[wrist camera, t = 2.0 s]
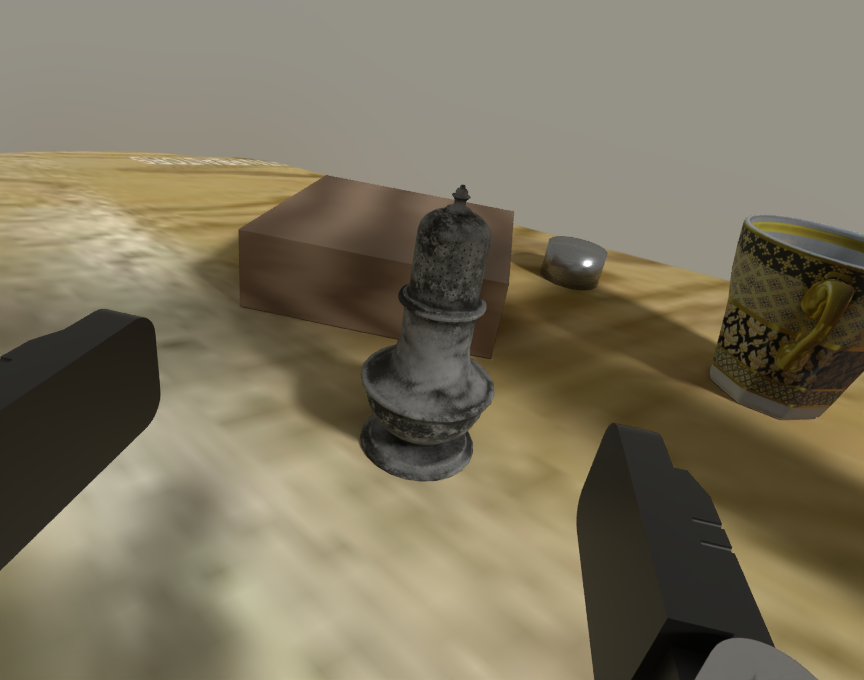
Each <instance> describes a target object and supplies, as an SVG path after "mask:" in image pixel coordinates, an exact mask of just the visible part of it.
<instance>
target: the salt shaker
mask: <svg viewBox="0 0 864 680" xmlns="http://www.w3.org/2000/svg"><path fill="white" fill-rule="evenodd" d="M452 195H453V197H454V199H455V201H454V203H453V204H449V205H447V206H446V207H445V208H438V209H435V210H433V211H431V212H429V213H427V214H426V215H425V216H424V217H423V218H422V219H421V220H420V223H419V226H418V229H417V235H416V242H415V249H414V256H413V263H412V270H411V277H410V283H409V284H406V285H404V286H403V287H402V288H401V289H400V290H399V294H398V298H399V301H400V303H401V304H402V305H403V306H404V312H403V319H402V326H401V333H400V337H399V340H398V342H397V344H396V345H392V346H389V347H386V348H383V349H381V350H379V351H377V352H375V353H374V354H372V355H371V356H370V357H369V358H368V359H367V360H366V361H365V363H364V364H363V368H362V371H361V378H362V383H363V386H364V388H365V389H366V392H367V397H368V401H369V404H370V407H371V409H372V412H373V415H372V416H371V417H369V418H368V420H367V421H366V423H365V424H364V425H363V428H362V433H361V442H362V448H363V449H364V451H365V453H366V455H367V456H368V458H369V459H370V460H371V461H372V462H373V463H374V464H376V465H377V466H378V467H379V468H381V469H383V470H384V471H386V472H388V473H390V474H392V475H395V476H398V477H401V478H404V479H408V480H415V481H437V480H441V479H445V478H449V477H452V476H453V475H455V474H457V473H459V472H460V471H462V470H463V469H464V468H465V467H466V465H467V464H468V463H469V461H470V459H471V456H472V453H473V442H472V439H471V437H470V435H469V432H468V430H469V429H470V428H471V427H472V426H473V424H474V423H475V422H476V421H477V420H478V419H479V417H480V415H481V413H482V412H483V411H484V410H485V409H486V408H487V407H488V406H489V405H490V404H491V402H492V399H493V396H494V393H495V392H494V383H493V381H492V379H491V378H490V376H489V374H488V372H487V371H486V370H485V369H484V368H483V367H482V366H481V365H480V364H479V363H477V362H476V361H474V360H473V359H471V358H470V346H471V341H472V337H473V332H474V327H475V323H476V319H478V318H479V317H481V316H482V315H484V313H485V311H486V302H485V301H484V299H483V298H482V297H481V296H480V291H481V286H482V281H483V277H484V272H485V267H486V263H487V258H488V254H489V249H490V244H491V231H490V228H489V226H488V224H487V223H486V222H485V221H484V220H483V219H482V218H481V217H480V216H479V215H478V214H476V213H473V212H472V211H471V209H470V208H469V207H466V201H467V200H468V199H469V198H471V197H470V196H469V195H468V191H467V189H465V185H461V186H460V188H458V189H457V190H456V193H453V194H452Z"/></svg>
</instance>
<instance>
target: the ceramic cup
mask: <svg viewBox="0 0 864 680" xmlns="http://www.w3.org/2000/svg"><path fill="white" fill-rule="evenodd" d="M863 372H864V234H860V233H857V232H853V231H849V230H846V229H842V228H839V227H835V226H830V225H826V224H822V223H817V222H813V221H808V220H802V219H797V218H791V217H784V216H776V215H753V216H749V217H747V218H746V219H745V220H744V223H743V227H742V231H741V234H740V238H739V241H738V245H737V249H736V253H735V257H734V262H733V266H732V272H731V280H730V289H729V297H728V302H727V306H726V311H725V315H724V319H723V323H722V327H721V331H720V335H719V339H718V342H717V347H716V350H715V353H714V357H713V361H712V366H711V369H710V376H711V380H712V381H713V382H714V383H715V384H717V385H718V386H719V387H720V388H721V389H722V390H723V391H725V392H726V393H727V394H728V395H729V396H730V397H731V398H733V399H734V400H735V401H736V402H737V403H739V404H741V405H744V406H746V407H749V408H751V409H754V410H757V411H759V412H762V413H764V414H767V415H769V416H772V417H774V418H777V419H780V420H799V419H815V418H816V417H819V416H821V415H822V414H823V413H824V412H825V411H826V410H827V409H828V408H829V407H830V406H831V405H832V404H833V403H834V402H835V401H836V400H837V399H838V398H839V396H840V395H841V394H842V393H843V392H844V391H845V390H846V389H847V388H848V387H849V386H850V385H851V384H852V383H853V382H854V381H855V380H856V379H857V378H858V377H859V376H860V375H861V374H862V373H863Z"/></svg>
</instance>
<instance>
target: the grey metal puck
mask: <svg viewBox="0 0 864 680" xmlns="http://www.w3.org/2000/svg"><path fill="white" fill-rule="evenodd" d="M606 257H607V251H606V250H605V249H604V248H602V247H601V246H599V245H597V244H594V243H592V242H589V241H586V240H582V239H578V238H573V237H565V236H557V237H552V238H550V239H549V242H548V246H547V250H546V253H545V257H544V261H543V264H542V268H541V275H542V276H543V277H544V278H545V279H547V280H548V281H550V282H552V283H554V284H556V285H559V286H562V287H566V288H570V289H575V290H591V289H594V288H596V287H597V285H598V282H599V278H600V275H601V272H602V269H603V266H604V263H605V260H606Z"/></svg>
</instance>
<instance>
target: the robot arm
mask: <svg viewBox="0 0 864 680" xmlns="http://www.w3.org/2000/svg"><path fill="white" fill-rule="evenodd" d="M159 402H160V381H159V370H158V358H157V347H156V336H155V329H154V326H153V324H152V322H151V321H150V320H149V319H147V318H144V317H139V316H135V315H130V314H126V313H121V312H117V311H112V310H108V309H100V310H97V311H95V312H93V313H91V314H90V315H88V316H86V317H85V318H83V319H81V320H79V321H78V322H76V323H74V324H73V325H71V326H69V327H68V328H66V329H64V330H61V331H58V332H55V333H52V334H48V335H45V336H42V337H39V338H36V339H33V340H29V341H28V342H26V343H24V344H22V345H21V346H19V347H17V348H15V349H13V350H12V351H10V352H8V353H6V354H5V355H3V356H1V359H0V570H1V569H2V568H3V567H4V566H6V565H7V564H8V563H9V562H10V561H11V560H12V559H13V558H14V557H15V556H16V555H17V554H18V553H19V552H20V551H21V550H22V549H23V548H24V547H25V546H26V545H27V544H28V543H29V542H30V541H31V540H32V539H33V538H34V537H35V536H36V535H37V534H38V533H39V532H40V531H41V530H42V529H43V528H44V527H45V526H46V525H47V524H48V523H50V522H51V521H52V520H53V519H54V518H55V517H56V516H57V515H58V514H59V513H60V512H61V511H62V510H63V509H64V508H65V507H66V506H67V505H68V504H69V503H70V502H71V501H72V500H73V499H74V498H75V497H76V496H77V495H78V494H79V493H80V492H81V491H82V490H83V489H84V488H85V487H86V486H87V485H88V484H89V483H90V482H91V481H92V480H94V479H95V478H96V477H97V476H98V475H99V474H100V473H101V472H102V471H103V470H104V469H105V468H106V467H107V466H108V465H109V464H110V463H111V462H112V461H113V460H114V459H115V458H116V457H117V456H118V455H119V454H120V453H121V452H122V451H123V450H124V449H125V448H126V447H127V446H128V445H129V444H130V443H131V442H132V441H133V440H134V439H135V438H136V437H138V436H139V435H140V434H141V433H142V432H143V431H144V430H145V429H146V428H147V427H148V425H149V424H150V423H151V421H152V420H153V418H154V416H155V414H156V412H157V409H158V406H159ZM721 525H722V523H721V521H720V518H719V516H718V514H717V511H716V509H715V507H714V504H713V502H712V500H711V497H710V496H709V495H708V494H707V492H706V491H705V490H704V489H703V488H702V487H701V486H700V485H699V483H698V482H697V481H696V480H695V479H694V478H693V477H692V476H691V474H690V473H689V472H688V471H687V470H682V469H678V468H673V465H672V463H671V460H670V457H669V455H668V452H667V449H666V447H665V444H664V441H663V439H662V437H661V435H660V434H659V433H656V432H652V431H647V430H643V429H638V428H634V427H629V426H625V425H620V424H616V423H612V424H610V425H609V427H608V428H607V430H606V431H605V434H604V436H603V439H602V441H601V444H600V446H599V449H598V451H597V454H596V456H595V459H594V461H593V464H592V466H591V469H590V471H589V474H588V476H587V479H586V481H585V484H584V486H583V489H582V492H581V495H580V499H579V503H578V509H577V535H578V544H579V553H580V561H581V570H582V578H583V587H584V595H585V604H586V613H587V621H588V630H589V638H590V647H591V655H592V664H593V673H594V680H818V679H817V678H816V677H815V676H814V675H812V674H811V673H810V672H809V671H808V670H807V669H806V668H805V667H803V666H802V665H801V664H800V663H798V662H797V661H796V660H794V659H793V658H791V657H790V656H788V655H787V654H785V653H783V652H782V651H780V650H778V649H776V648H775V646H774V644H773V641H772V639H771V637H770V634H769V632H768V630H767V627H766V625H765V623H764V620H763V618H762V616H761V613H760V611H759V609H758V606H757V604H756V602H755V599H754V597H753V595H752V593H751V590H750V588H749V586H748V583H747V581H746V579H745V576H744V574H743V572H742V569H741V567H740V565H739V562H738V560H737V558H736V555H735V553H732V552H731V549H732V546H731V544H730V542H729V539H728V537H727V535H726V532H725V530H724V529H721Z"/></svg>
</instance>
